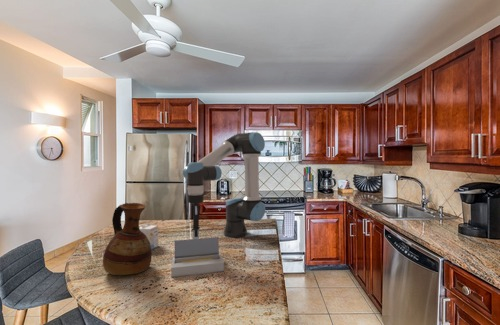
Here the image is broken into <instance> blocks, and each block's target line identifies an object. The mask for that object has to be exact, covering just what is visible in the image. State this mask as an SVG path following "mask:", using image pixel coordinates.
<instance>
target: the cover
mask: <svg viewBox="0 0 500 325" xmlns="http://www.w3.org/2000/svg"><path fill="white" fill-rule="evenodd" d="M219 245H220V244H219V237H218V236H217V237H214V236H213V237H203V238H199V239H193V238H192V239H191V238H190V239H177V240H174V256H175V259H177V258H187V257H197V256H208V255H218V254H219V252H220V246H219Z"/></svg>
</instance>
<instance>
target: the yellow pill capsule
mask: <svg viewBox="0 0 500 325" xmlns="http://www.w3.org/2000/svg"><path fill="white" fill-rule="evenodd" d="M205 260H213V259H212V258H210V259H200V260H190V261H182V262H181V263H185V262H195V261H205Z"/></svg>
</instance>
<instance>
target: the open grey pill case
mask: <svg viewBox="0 0 500 325" xmlns="http://www.w3.org/2000/svg"><path fill="white" fill-rule="evenodd" d="M210 258H212V259H213V260H205V261H195V262H185V263H181V262H182V261H190V260H200V259H210ZM170 268H171V269H170V270H171V272H170V273H171V274H170V276H171V277H170V278H178V277H180V278H181V277H185V276H196V275H207V274H213V273H214V274H215V273H222V272H225V262H224V259H223V256H222V253H221V251H219V254H218V255H208V256H197V257H187V258H177V259H175V255H173V256H172V260H171V266H170Z"/></svg>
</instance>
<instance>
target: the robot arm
mask: <svg viewBox="0 0 500 325" xmlns="http://www.w3.org/2000/svg"><path fill="white" fill-rule="evenodd" d="M265 145H266V144H265V138H264V136H263V135H262V134H261V133H259V132H256V131H255V132H254V131H253V132H251V131H250V132H242V133H241V132H240V133H237V134H234V135H232V136H230V137H229V138H227V139H225V140H224V141H223V142H222V143H221V145H220V146H217V147H216V148H215V149H214V150H213V151H211V152H210V153H208V154H206V155H205V156H204V157H202V158H201V159H199V160H198V161H197V162H196V161H195V162H188V163H187V165H186V166H185V167H184V168H183V170H182V176H183V178H184V179H185V180H187V187H186V188H185V189H186V190H187V194H188V195H187V202H188V203H189V204H192V205H191V216H192V228H191V231H192V233H193V234H192V235H193V236H192V239H200V228H201V227H200V212H201V211H200V210H201V206H200V205H199V204H201V203H203V202H204V192H205V191H204V182H207V181H208V182H212V181H213V182H214V181H218V180H221V178H222V169H221V167H219V166H218V165H217V164H219V163H221V161H224V159H226V158H227V157H229V156H232V155H233V154H235V153H241V155H242V156H243V157H244V197H236V198H228V199H226V201H225V219H226V220H225V222H226V223H225V226H224V228H223V235H224V236H225V237H229V238H240V237H244V236H247V235H248V229H247V226H246V223H245V221H251V222H259V221H261V220H262V219H263V217H264V216H265V214H266V205H265V203H264V202H262V197H261V196H260V188H259V187H260V178H259V177H260V176H259V175H260V172H259V171H260V170H259V157H260V156H261V155H262V151H264V149H265V148H266V146H265Z"/></svg>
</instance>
